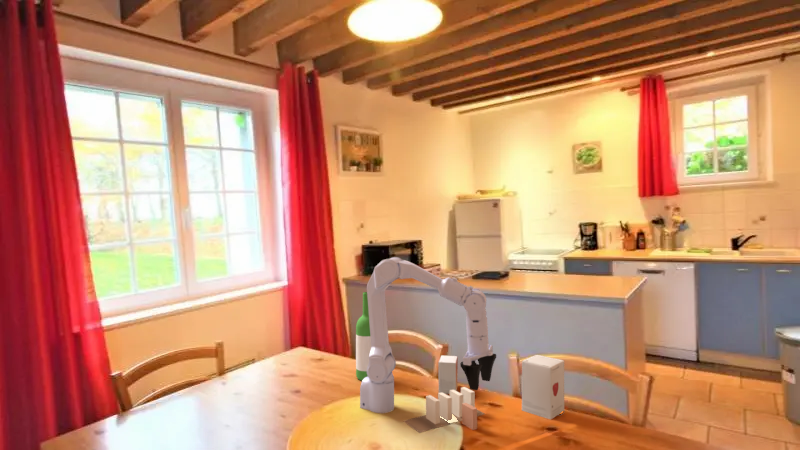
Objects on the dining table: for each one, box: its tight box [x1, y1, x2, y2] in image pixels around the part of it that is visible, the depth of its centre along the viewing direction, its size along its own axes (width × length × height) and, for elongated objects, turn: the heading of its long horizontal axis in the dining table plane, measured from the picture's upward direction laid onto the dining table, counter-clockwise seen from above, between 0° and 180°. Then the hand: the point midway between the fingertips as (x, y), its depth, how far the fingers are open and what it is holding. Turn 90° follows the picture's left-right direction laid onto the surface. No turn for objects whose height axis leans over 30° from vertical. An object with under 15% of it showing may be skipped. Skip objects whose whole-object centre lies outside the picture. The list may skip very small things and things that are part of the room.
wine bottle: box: [355, 291, 371, 382], centre depth 154 cm, size 8×8×30 cm
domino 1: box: [425, 394, 440, 424], centre depth 118 cm, size 1×4×6 cm, turn 31°
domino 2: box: [437, 392, 452, 421], centre depth 120 cm, size 1×4×6 cm, turn 30°
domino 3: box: [449, 390, 463, 418], centre depth 122 cm, size 1×4×6 cm, turn 30°
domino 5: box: [461, 403, 478, 431], centre depth 115 cm, size 1×4×6 cm, turn 30°
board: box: [402, 409, 486, 434], centre depth 120 cm, size 22×8×1 cm, turn 121°
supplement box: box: [521, 354, 565, 420], centre depth 125 cm, size 9×9×15 cm
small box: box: [437, 355, 459, 395], centre depth 141 cm, size 8×6×10 cm
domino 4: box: [460, 386, 476, 408], centre depth 124 cm, size 1×4×6 cm, turn 31°
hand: (480, 384), depth 120 cm, fingers open, 7 cm apart
